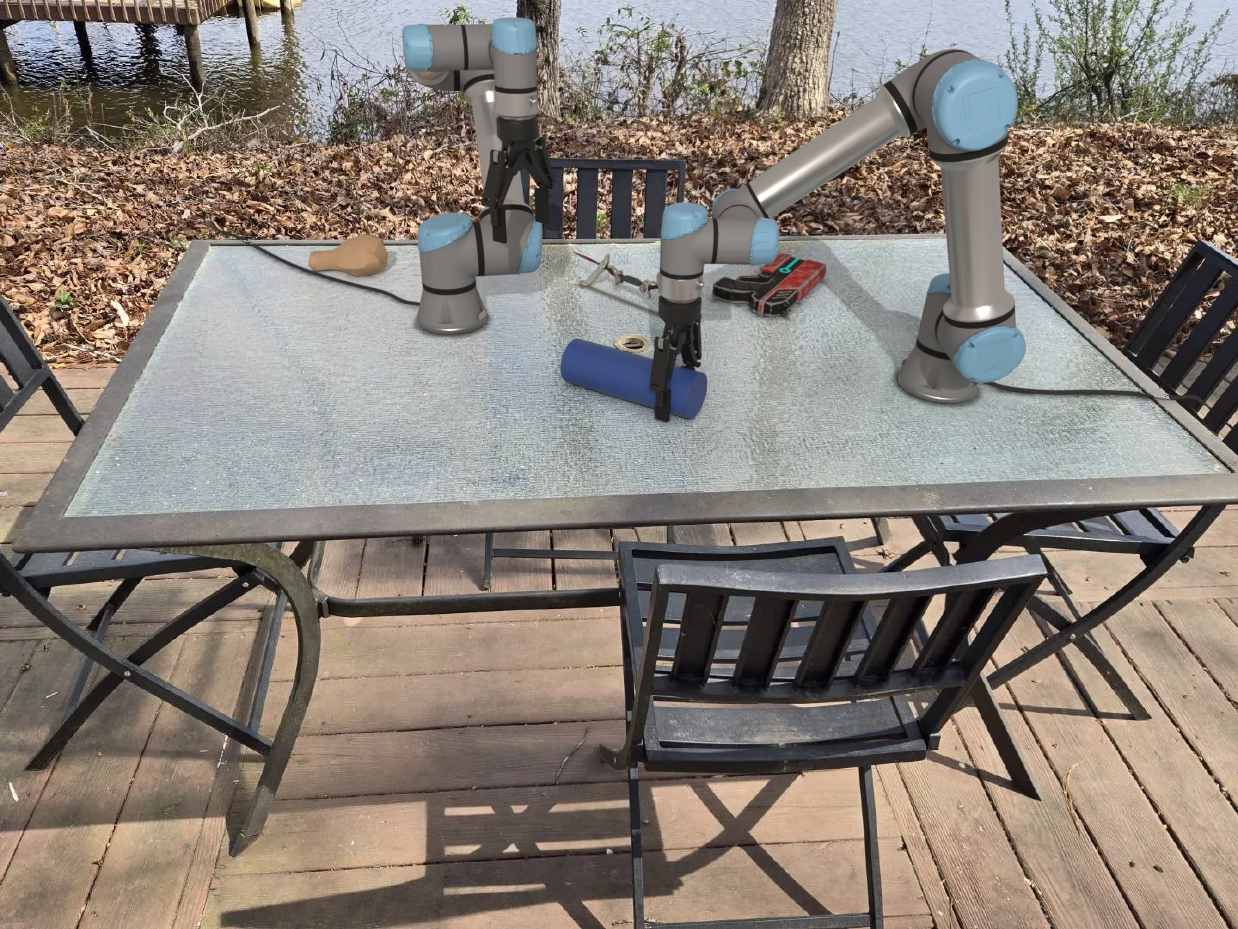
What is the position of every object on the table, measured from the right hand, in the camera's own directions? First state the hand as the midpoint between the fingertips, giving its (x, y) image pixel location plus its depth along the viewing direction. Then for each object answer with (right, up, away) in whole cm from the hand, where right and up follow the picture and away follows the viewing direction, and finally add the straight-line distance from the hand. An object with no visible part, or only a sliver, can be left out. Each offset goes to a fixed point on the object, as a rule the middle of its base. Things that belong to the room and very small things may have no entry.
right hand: (674, 408), depth 164 cm
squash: (-78, +38, +56) cm, 103 cm away
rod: (-8, +2, +4) cm, 9 cm away
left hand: (-29, +34, +4) cm, 45 cm away
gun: (+27, +32, +52) cm, 67 cm away
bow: (-7, +27, +43) cm, 52 cm away
